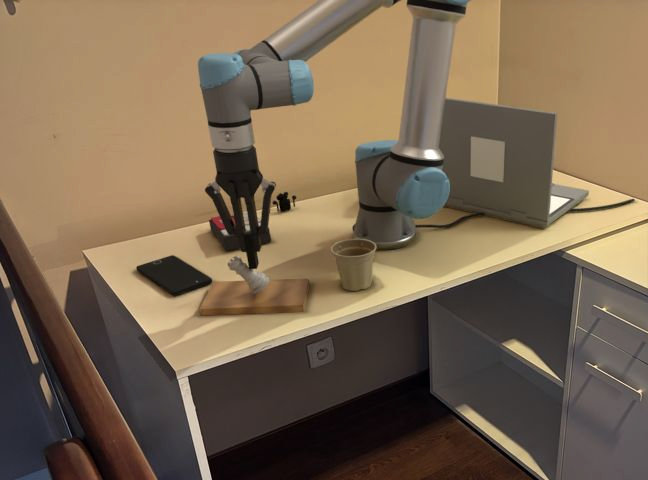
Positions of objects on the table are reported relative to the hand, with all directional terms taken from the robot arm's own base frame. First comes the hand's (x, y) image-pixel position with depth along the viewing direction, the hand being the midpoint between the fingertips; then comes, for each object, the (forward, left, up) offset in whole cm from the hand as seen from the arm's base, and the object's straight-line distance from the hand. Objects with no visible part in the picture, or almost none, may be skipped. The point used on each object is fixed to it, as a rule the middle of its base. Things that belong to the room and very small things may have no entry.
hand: (254, 266), depth 136 cm
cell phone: (+20, -12, -8) cm, 25 cm away
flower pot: (-20, -5, -8) cm, 22 cm away
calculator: (+10, -34, -8) cm, 36 cm away
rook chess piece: (-1, 0, -5) cm, 5 cm away
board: (0, 0, -8) cm, 8 cm away
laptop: (-60, -52, -8) cm, 80 cm away
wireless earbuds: (+1, -51, -8) cm, 52 cm away
